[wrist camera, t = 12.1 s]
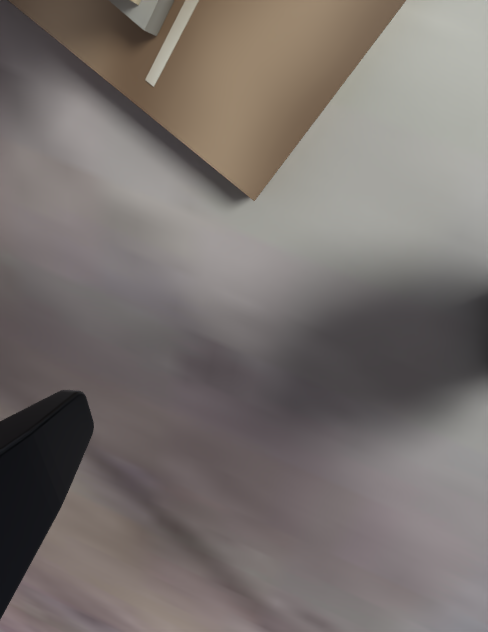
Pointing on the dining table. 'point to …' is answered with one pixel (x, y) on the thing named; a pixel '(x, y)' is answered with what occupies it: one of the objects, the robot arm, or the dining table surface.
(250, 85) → the walnut board
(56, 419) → the robot arm
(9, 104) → the dining table surface
